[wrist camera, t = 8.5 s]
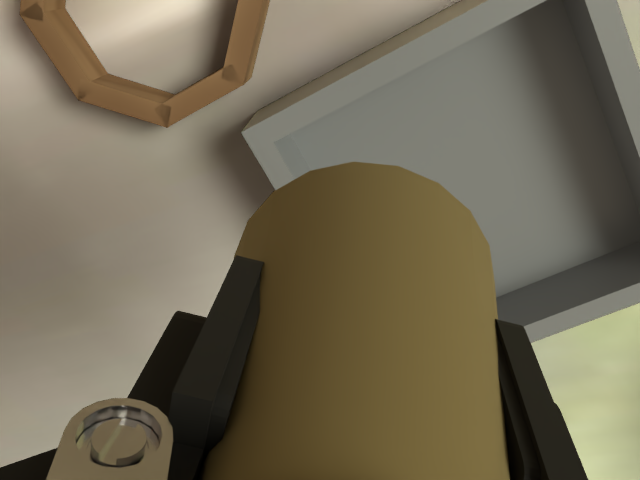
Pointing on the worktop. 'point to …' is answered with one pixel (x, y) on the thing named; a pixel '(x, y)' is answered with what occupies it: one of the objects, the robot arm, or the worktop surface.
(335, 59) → the worktop surface
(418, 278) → the cork
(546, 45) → the tray
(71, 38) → the socket ring
